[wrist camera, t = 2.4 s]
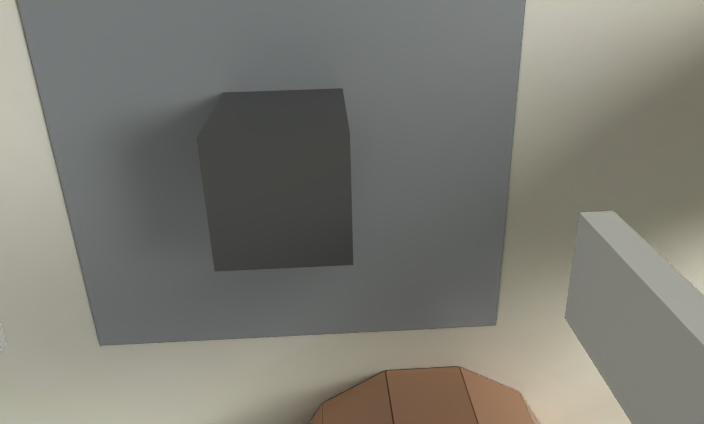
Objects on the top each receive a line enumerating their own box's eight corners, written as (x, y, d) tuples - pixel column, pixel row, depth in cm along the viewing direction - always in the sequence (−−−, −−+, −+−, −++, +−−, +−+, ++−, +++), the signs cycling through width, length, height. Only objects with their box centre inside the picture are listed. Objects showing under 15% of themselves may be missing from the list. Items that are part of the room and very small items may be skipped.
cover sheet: (106, 333, 25) (50, 440, 20) (4, -104, 18) (-121, -119, 13) (490, 314, 26) (536, 412, 20) (528, -116, 19) (609, -135, 14)
